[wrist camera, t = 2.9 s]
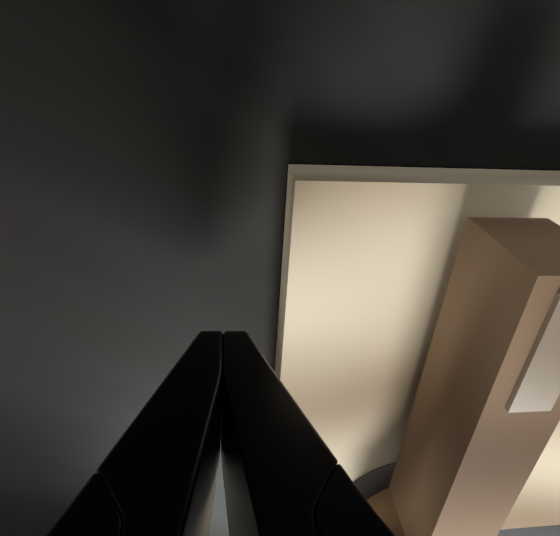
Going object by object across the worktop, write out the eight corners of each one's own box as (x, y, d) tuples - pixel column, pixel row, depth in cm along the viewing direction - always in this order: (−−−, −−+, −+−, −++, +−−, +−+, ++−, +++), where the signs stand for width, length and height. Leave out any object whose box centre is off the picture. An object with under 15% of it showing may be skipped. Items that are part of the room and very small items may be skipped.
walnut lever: (444, 540, 14) (479, 624, 12) (346, 548, 13) (365, 636, 11) (586, 218, 8) (693, 278, 6) (426, 216, 8) (489, 279, 6)
